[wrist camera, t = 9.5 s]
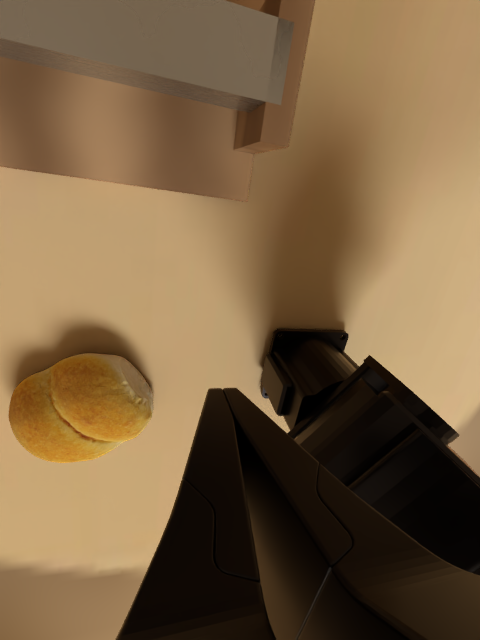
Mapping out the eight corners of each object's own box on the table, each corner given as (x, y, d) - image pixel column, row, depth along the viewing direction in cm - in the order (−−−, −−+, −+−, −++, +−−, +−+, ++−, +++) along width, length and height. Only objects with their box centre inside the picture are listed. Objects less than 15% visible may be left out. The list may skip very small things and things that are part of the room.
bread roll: (-7, 390, 20) (-42, 435, 17) (107, 329, 20) (96, 362, 17) (74, 456, 24) (60, 503, 21) (170, 405, 24) (171, 444, 21)
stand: (273, -20, 14) (339, -138, 9) (243, 200, 18) (276, 211, 13) (-338, -239, 9) (-1085, -851, 4) (-190, 138, 13) (-436, 114, 8)
